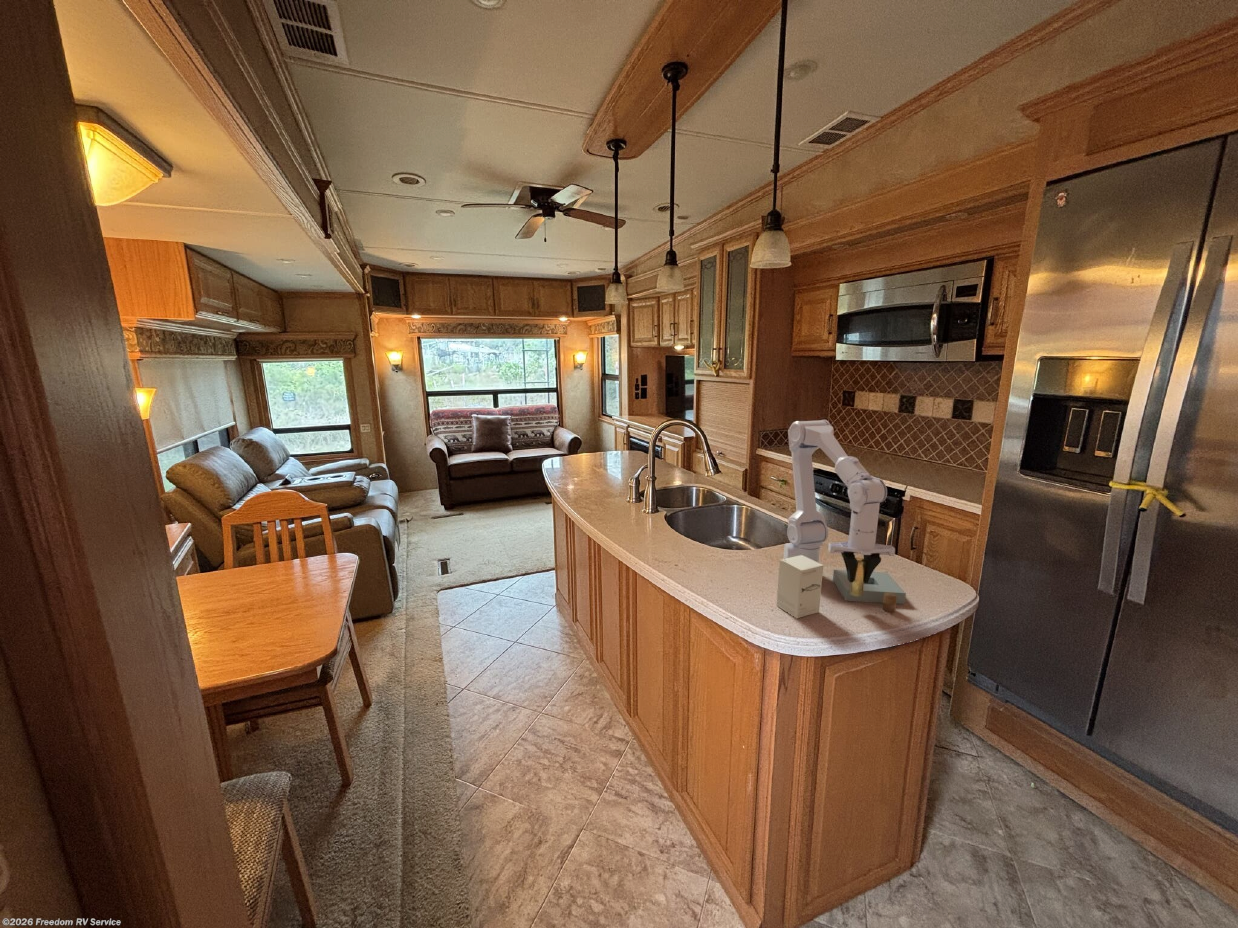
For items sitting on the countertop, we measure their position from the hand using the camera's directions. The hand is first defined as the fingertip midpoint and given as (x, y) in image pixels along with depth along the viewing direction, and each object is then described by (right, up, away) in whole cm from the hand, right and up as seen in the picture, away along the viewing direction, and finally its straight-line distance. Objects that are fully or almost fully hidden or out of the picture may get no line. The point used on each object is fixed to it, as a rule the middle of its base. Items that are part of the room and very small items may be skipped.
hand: (857, 580), depth 119 cm
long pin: (0, -3, +1) cm, 3 cm away
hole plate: (+7, -5, +10) cm, 14 cm away
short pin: (+8, -7, +1) cm, 11 cm away
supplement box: (-14, -8, +2) cm, 16 cm away
